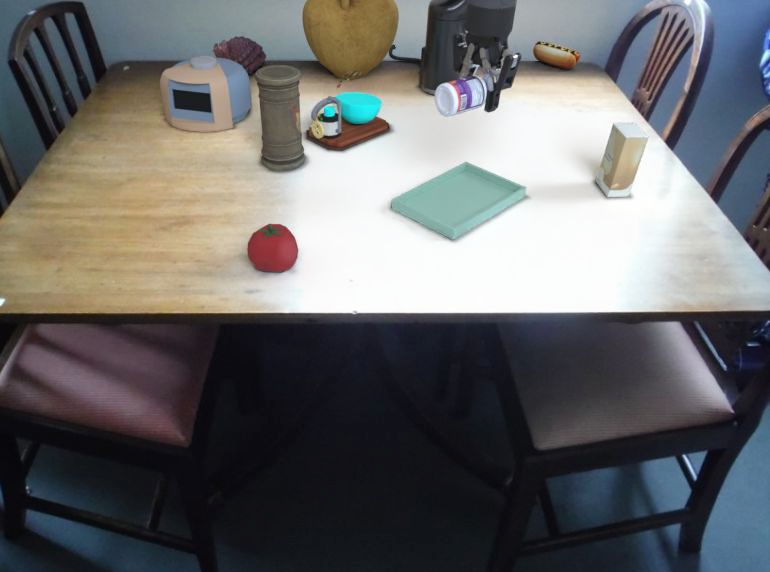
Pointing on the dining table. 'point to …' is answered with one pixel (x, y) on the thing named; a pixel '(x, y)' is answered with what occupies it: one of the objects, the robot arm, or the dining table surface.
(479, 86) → the pill bottle
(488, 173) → the tray
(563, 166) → the dining table surface
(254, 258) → the tomato
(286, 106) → the container
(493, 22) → the robot arm
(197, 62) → the alarm clock
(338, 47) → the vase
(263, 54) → the pine cone
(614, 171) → the cosmetic box
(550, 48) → the hot dog
